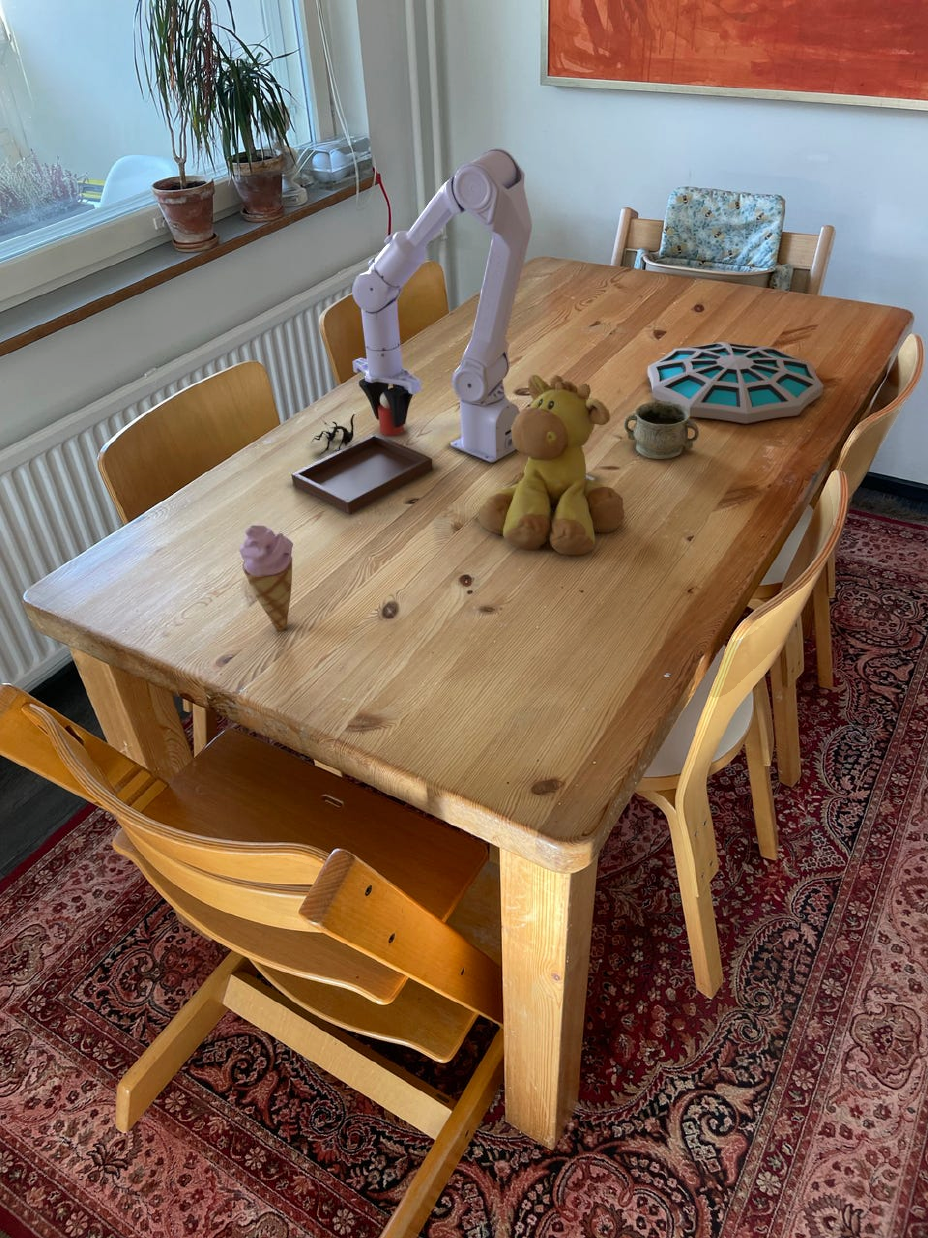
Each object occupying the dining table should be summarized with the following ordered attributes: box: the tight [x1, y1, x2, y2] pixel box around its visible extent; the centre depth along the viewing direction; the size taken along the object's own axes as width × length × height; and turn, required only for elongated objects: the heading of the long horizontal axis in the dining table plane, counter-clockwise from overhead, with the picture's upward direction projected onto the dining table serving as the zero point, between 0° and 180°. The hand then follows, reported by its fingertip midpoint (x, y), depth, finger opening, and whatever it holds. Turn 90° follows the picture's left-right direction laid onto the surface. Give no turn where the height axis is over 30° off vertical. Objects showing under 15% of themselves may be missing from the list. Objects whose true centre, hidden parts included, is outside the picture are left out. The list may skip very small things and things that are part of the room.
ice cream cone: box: [238, 525, 294, 632], centre depth 115 cm, size 7×6×15 cm
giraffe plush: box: [477, 374, 626, 556], centre depth 132 cm, size 20×24×19 cm
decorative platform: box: [646, 341, 824, 425], centre depth 167 cm, size 31×29×5 cm
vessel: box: [623, 400, 700, 460], centre depth 150 cm, size 12×9×6 cm
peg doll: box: [378, 393, 404, 437], centre depth 159 cm, size 4×4×7 cm
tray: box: [290, 433, 434, 515], centre depth 148 cm, size 14×18×2 cm
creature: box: [310, 413, 356, 457], centre depth 156 cm, size 8×5×8 cm
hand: (390, 421), depth 160 cm, fingers closed on peg doll, 4 cm apart
